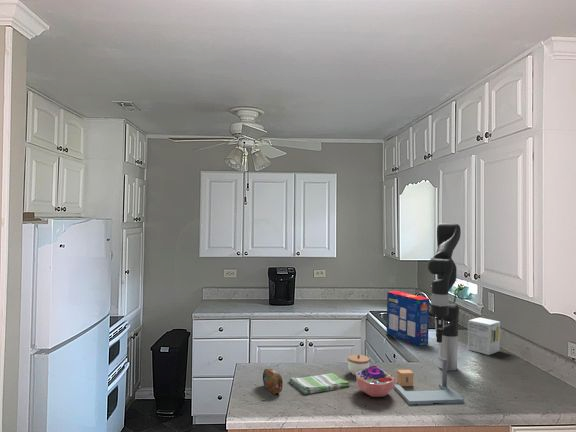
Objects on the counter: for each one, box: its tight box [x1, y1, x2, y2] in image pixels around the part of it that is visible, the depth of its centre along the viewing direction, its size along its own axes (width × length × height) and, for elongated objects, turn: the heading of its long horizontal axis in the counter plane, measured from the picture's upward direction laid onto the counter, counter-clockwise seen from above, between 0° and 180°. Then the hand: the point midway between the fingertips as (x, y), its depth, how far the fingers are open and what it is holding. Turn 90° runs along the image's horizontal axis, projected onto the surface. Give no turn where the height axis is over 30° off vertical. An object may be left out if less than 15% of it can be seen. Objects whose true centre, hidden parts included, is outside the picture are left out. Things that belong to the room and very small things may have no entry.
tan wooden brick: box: [396, 369, 414, 387], centre depth 211 cm, size 5×6×6 cm
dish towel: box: [288, 372, 350, 395], centre depth 209 cm, size 17×23×4 cm
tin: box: [262, 368, 284, 395], centre depth 201 cm, size 15×3×8 cm, turn 29°
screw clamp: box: [393, 357, 465, 406], centre depth 200 cm, size 20×24×14 cm
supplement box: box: [467, 317, 501, 356], centre depth 266 cm, size 13×13×18 cm
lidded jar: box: [347, 354, 370, 376], centre depth 223 cm, size 11×11×9 cm
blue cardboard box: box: [386, 290, 430, 347], centre depth 286 cm, size 28×8×28 cm, turn 30°
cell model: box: [355, 365, 396, 398], centre depth 199 cm, size 17×20×11 cm
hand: (438, 339), depth 203 cm, fingers open, 8 cm apart
